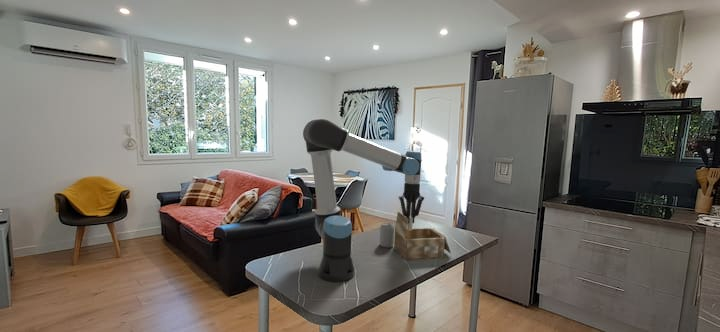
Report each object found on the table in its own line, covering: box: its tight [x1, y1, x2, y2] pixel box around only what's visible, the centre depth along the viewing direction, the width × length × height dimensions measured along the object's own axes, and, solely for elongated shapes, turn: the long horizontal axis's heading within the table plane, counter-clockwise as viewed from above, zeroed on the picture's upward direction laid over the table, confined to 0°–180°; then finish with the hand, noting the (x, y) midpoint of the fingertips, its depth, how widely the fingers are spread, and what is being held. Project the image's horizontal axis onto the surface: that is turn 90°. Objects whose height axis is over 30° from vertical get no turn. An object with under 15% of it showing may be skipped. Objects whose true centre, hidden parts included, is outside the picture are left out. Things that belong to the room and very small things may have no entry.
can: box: [379, 221, 395, 248], centre depth 169 cm, size 8×8×12 cm
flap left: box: [394, 211, 409, 238], centre depth 157 cm, size 9×14×1 cm
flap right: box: [431, 228, 452, 254], centre depth 163 cm, size 9×14×1 cm
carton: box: [393, 227, 445, 261], centre depth 160 cm, size 20×17×10 cm
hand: (409, 229), depth 159 cm, fingers closed
